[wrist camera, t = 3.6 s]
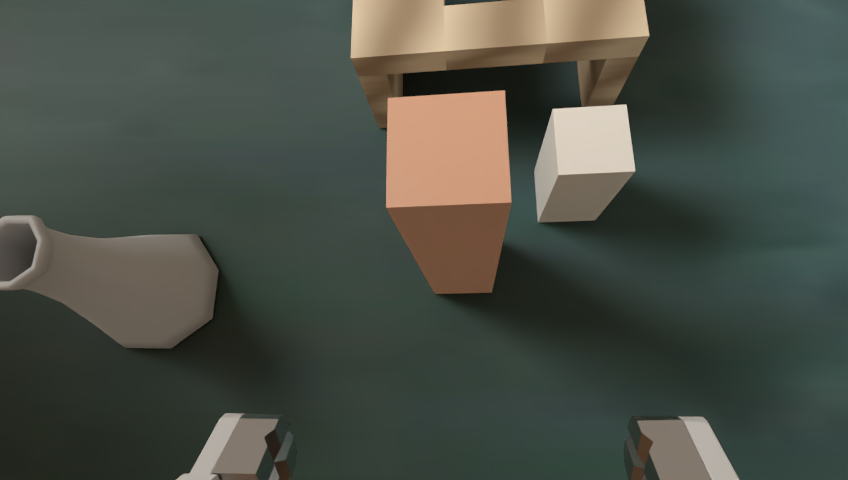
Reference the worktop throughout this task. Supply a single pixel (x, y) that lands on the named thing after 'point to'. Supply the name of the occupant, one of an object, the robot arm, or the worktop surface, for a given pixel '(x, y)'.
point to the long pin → (450, 185)
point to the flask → (114, 279)
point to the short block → (582, 162)
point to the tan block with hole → (495, 41)
